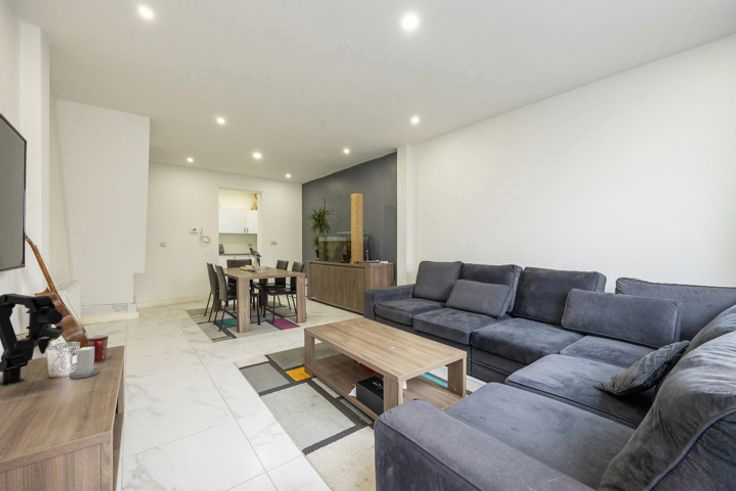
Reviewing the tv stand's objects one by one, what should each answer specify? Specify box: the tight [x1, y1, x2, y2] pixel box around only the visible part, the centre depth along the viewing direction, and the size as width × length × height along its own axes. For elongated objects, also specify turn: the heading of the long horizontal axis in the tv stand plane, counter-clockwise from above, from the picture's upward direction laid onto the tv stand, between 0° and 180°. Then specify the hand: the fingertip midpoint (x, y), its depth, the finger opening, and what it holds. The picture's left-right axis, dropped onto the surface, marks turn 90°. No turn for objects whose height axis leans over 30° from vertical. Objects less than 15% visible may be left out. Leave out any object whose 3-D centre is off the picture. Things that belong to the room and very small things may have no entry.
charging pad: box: [69, 367, 100, 380], centre depth 154 cm, size 11×11×1 cm
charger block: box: [75, 346, 95, 375], centre depth 155 cm, size 5×5×12 cm
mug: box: [87, 334, 109, 363], centre depth 174 cm, size 13×9×14 cm
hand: (36, 356), depth 142 cm, fingers open, 9 cm apart
